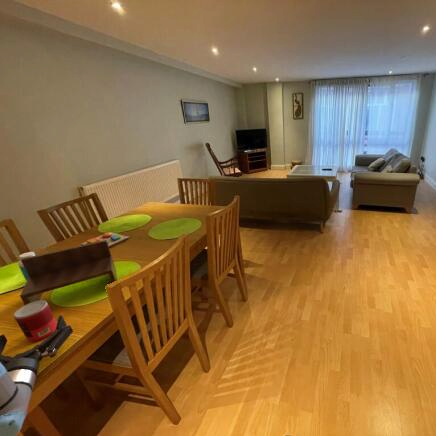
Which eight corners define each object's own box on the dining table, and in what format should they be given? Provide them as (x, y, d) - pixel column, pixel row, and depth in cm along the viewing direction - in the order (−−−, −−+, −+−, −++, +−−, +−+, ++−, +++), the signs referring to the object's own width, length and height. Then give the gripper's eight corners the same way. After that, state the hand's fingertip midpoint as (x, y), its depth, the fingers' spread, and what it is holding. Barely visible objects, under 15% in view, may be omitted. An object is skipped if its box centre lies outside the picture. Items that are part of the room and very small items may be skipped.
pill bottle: (32, 285, 108) (19, 260, 103) (23, 282, 110) (10, 257, 105) (53, 276, 114) (41, 251, 109) (43, 273, 117) (32, 249, 112)
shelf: (29, 314, 92) (9, 277, 85) (38, 292, 104) (21, 258, 97) (117, 286, 107) (106, 253, 100) (116, 270, 119) (106, 239, 112)
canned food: (64, 322, 88) (52, 298, 84) (47, 340, 81) (34, 315, 76) (40, 325, 87) (27, 301, 83) (21, 344, 79) (6, 318, 75)
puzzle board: (102, 251, 136) (100, 246, 135) (80, 246, 142) (78, 241, 141) (130, 238, 152) (129, 233, 150) (109, 234, 157) (107, 229, 156)
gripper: (-53, 421, 57) (-18, 356, 73) (81, 364, 70) (86, 319, 86) (-71, 401, 54) (-31, 338, 70) (72, 345, 68) (79, 302, 84)
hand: (34, 327), depth 78 cm, fingers open, 13 cm apart
